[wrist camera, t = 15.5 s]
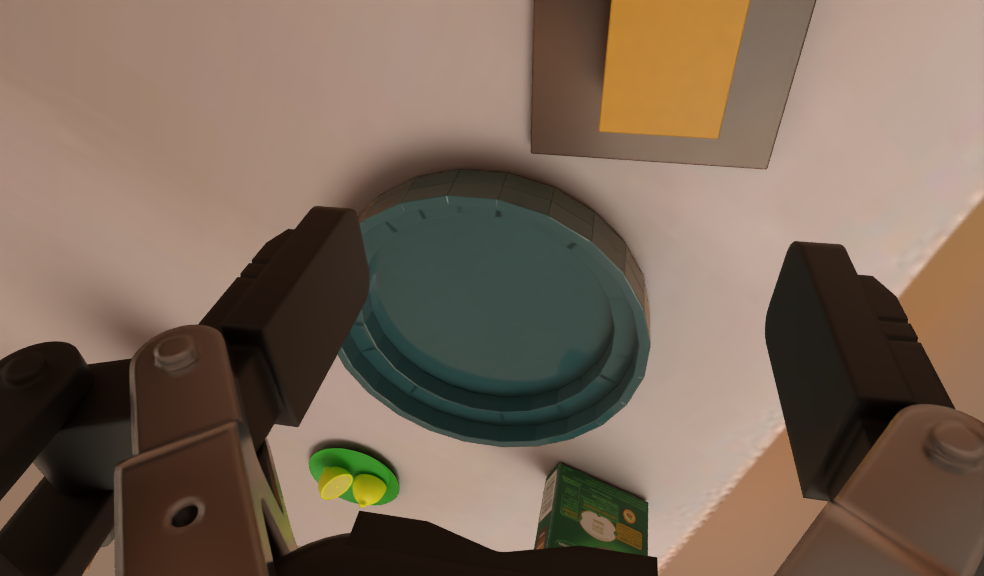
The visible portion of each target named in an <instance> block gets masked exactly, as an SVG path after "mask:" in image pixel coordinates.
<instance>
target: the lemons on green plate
mask: <svg viewBox="0 0 984 576" xmlns="http://www.w3.org/2000/svg"><path fill="white" fill-rule="evenodd" d="M309 469H310V472H311V474H312V476H313V477H314V479H315V480H316V481H317V482H318V488H319V493H320V495H321V497H322V498H323V499H325V500H331V499H334V498H337V497H340V498H342V499H344V500H347V501H350V502H353V503H357V504H359V507H362V508H364V507H365V506H366V505H382V504H386V503H388V502H390V501H392V500H394V499H395V498H396V497H397V495H398V493H399V484H398V481H397V479H396V477H395V476H394V474H393V473H392V472H391V471H390V470H389V469H388V468H387V467H386V466H385V465H383V464H382V463H380V462H379V461H377V460H376V459H374V458H372V457H370V456H368V455H365V454H363V453H360V452H357V451H353V450H349V449H342V448H330V449H324V450H321V451H318V452H317V453H315V454H314V455H313V456H312V457H311V459H310V462H309Z"/></svg>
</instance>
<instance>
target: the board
mask: <svg viewBox="0 0 984 576" xmlns="http://www.w3.org/2000/svg"><path fill="white" fill-rule="evenodd" d="M815 3H816V0H750V4H749V8H748V12H747V17H746V21H745V25H744V30H743V34H742V38H741V43H740V47H739V51H738V56H737V60H736V64H735V69H734V73H733V77H732V82H731V86H730V90H729V95H728V99H727V103H726V108H725V112H724V116H723V121H722V125H721V129H720V134H719V138H718V139H708V138H692V137H676V136H660V135H644V134H628V133H613V132H599V119H600V109H601V99H602V89H603V79H604V68H605V58H606V48H607V38H608V28H609V18H610V7H611V0H534V28H533V71H532V115H531V153H533V154H548V155H563V156H577V157H592V158H607V159H621V160H636V161H651V162H666V163H680V164H695V165H710V166H724V167H739V168H754V169H767V168H768V164H769V161H770V157H771V154H772V150H773V147H774V144H775V140H776V137H777V133H778V130H779V126H780V123H781V120H782V116H783V113H784V109H785V106H786V102H787V99H788V96H789V92H790V89H791V85H792V82H793V79H794V75H795V72H796V68H797V65H798V61H799V58H800V55H801V51H802V48H803V44H804V41H805V37H806V34H807V31H808V27H809V24H810V20H811V17H812V13H813V10H814V7H815Z"/></svg>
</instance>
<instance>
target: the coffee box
mask: <svg viewBox="0 0 984 576" xmlns="http://www.w3.org/2000/svg"><path fill="white" fill-rule="evenodd" d="M578 545H581V546H587V547H593V548H600V549H606V550H612V551H619V552H625V553H631V554H638V555H644V556H648V502H646V501H644V500H641V499H639V498H637V497H635V496H634V495H632V494H630V493H628V492H626V491H621V490H619V489H617V488H615V487H612V486H610V485H608V484H606V483H604V482H601V481H599V480H597V479H595V478H592V477H590V476H588V475H586V474H585V473H583V472H581V471H579V470H576V469H573V468H570V467H568V466H566V465H564V464H562V463H559V464H558V465H557V466H556V467H555V469H554V470H553V471H552V472H551V474H550V475H549V476H548V477H547V478H546V482H545V488H544V492H543V500H542V506H541V511H540V517H539V523H538V530H537V536H536V541H535V547H534V550H535V549H545V548H556V547H567V546H578Z"/></svg>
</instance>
